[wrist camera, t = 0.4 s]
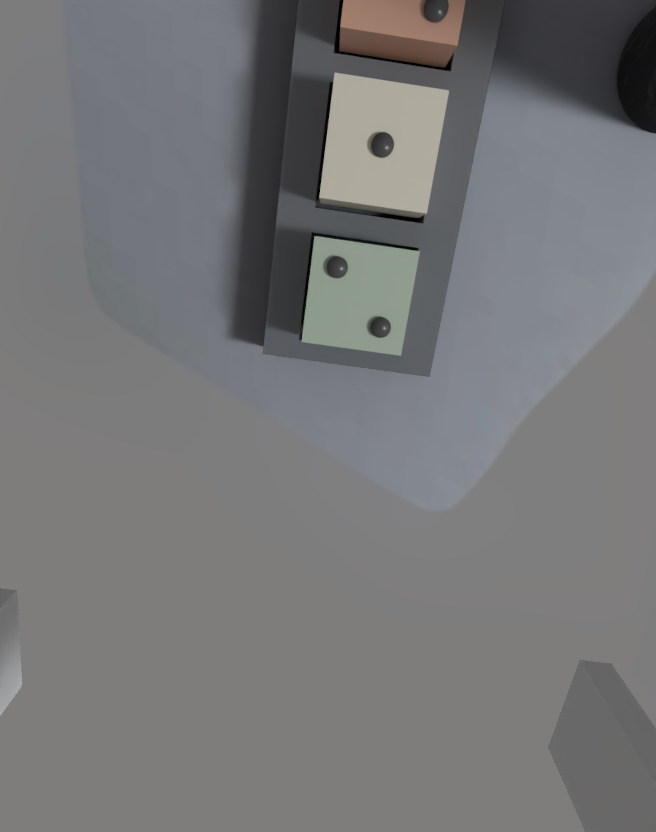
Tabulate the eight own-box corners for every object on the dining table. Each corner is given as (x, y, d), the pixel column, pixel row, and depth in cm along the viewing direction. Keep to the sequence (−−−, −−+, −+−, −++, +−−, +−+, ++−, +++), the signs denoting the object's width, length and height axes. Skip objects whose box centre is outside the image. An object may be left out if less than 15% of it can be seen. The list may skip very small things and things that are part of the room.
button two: (316, 238, 31) (314, 235, 28) (411, 252, 31) (420, 251, 28) (304, 335, 33) (301, 342, 30) (395, 347, 33) (401, 356, 30)
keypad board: (313, -98, 28) (311, -132, 25) (508, -66, 28) (524, -97, 26) (267, 347, 35) (262, 353, 33) (422, 369, 35) (429, 376, 33)
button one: (334, 91, 29) (334, 71, 26) (437, 107, 29) (450, 89, 26) (320, 203, 30) (319, 197, 27) (418, 218, 31) (427, 213, 28)
